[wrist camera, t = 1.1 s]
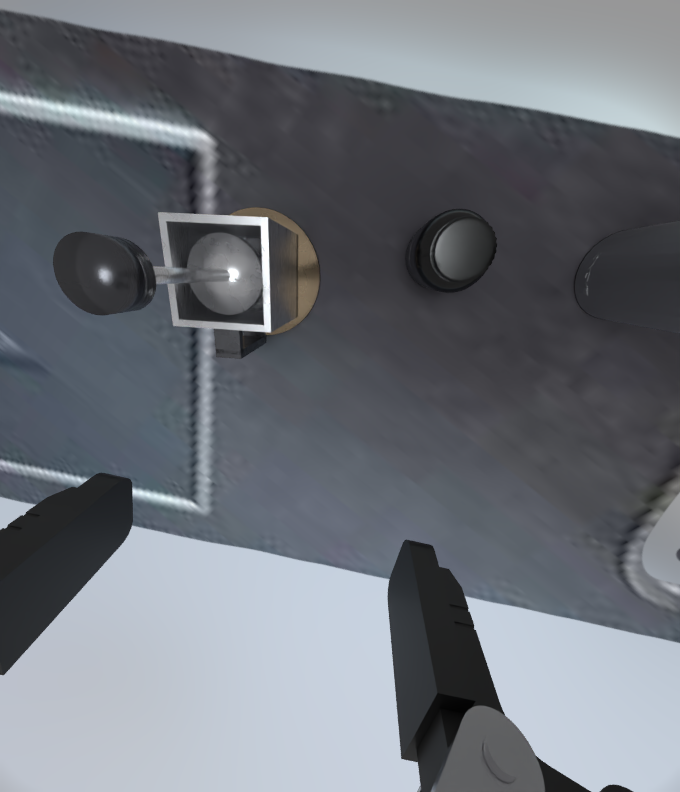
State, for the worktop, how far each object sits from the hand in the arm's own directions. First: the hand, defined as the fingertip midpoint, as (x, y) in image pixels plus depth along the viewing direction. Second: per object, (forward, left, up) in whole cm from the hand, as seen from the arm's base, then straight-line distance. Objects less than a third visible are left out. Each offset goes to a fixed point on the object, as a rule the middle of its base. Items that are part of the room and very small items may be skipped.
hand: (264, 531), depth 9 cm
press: (+10, -6, -33) cm, 35 cm away
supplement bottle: (-10, -9, -33) cm, 35 cm away
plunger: (+10, -6, -23) cm, 26 cm away
